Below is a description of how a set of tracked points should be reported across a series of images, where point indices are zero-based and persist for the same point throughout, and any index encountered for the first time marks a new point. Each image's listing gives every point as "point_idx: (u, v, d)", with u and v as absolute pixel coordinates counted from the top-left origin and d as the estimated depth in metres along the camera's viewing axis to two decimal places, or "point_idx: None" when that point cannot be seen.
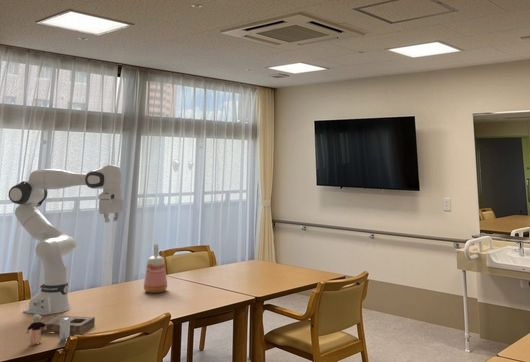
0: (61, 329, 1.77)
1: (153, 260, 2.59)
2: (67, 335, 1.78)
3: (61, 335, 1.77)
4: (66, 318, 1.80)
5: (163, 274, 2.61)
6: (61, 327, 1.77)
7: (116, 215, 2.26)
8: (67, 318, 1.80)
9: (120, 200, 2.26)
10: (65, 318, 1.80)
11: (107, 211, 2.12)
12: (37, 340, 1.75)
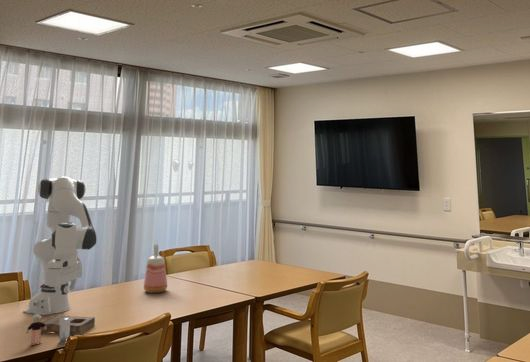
0: (61, 329, 1.77)
1: (153, 260, 2.59)
2: (67, 335, 1.78)
3: (61, 335, 1.77)
4: (66, 318, 1.80)
5: (163, 274, 2.61)
6: (61, 327, 1.77)
7: (72, 283, 1.85)
8: (67, 318, 1.80)
9: (77, 264, 1.85)
10: (65, 318, 1.80)
11: (58, 283, 1.71)
12: (37, 340, 1.75)
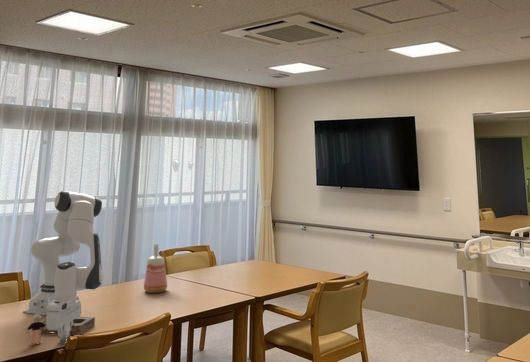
0: None
1: (153, 260, 2.59)
2: (67, 335, 1.78)
3: None
4: None
5: (163, 274, 2.61)
6: None
7: None
8: None
9: (77, 304, 1.85)
10: None
11: (57, 326, 1.71)
12: (37, 340, 1.75)
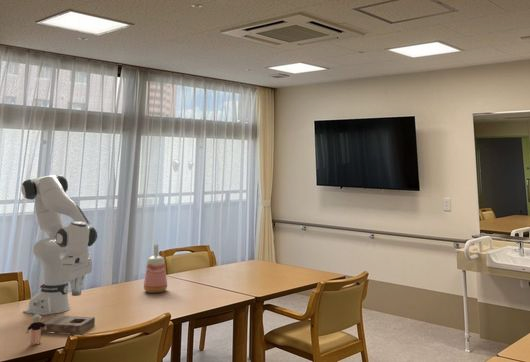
0: None
1: (153, 260, 2.59)
2: (79, 288, 1.92)
3: None
4: None
5: (163, 274, 2.61)
6: None
7: None
8: None
9: (88, 261, 1.99)
10: None
11: (70, 278, 1.85)
12: (37, 340, 1.75)
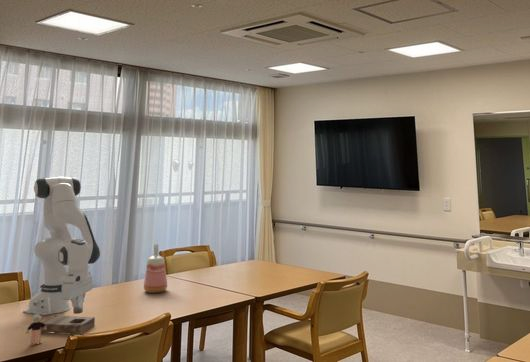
0: None
1: (153, 260, 2.59)
2: (80, 306, 1.93)
3: None
4: None
5: (163, 274, 2.61)
6: None
7: None
8: None
9: (88, 278, 2.00)
10: None
11: (71, 296, 1.86)
12: (37, 340, 1.75)
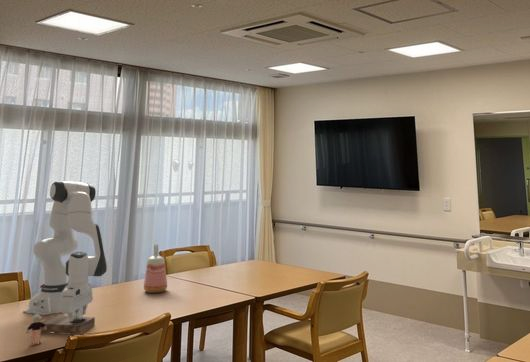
0: (75, 315, 1.93)
1: (153, 260, 2.59)
2: (80, 321, 1.93)
3: (75, 321, 1.93)
4: None
5: (163, 274, 2.61)
6: (75, 313, 1.93)
7: (84, 308, 2.00)
8: None
9: (88, 290, 2.00)
10: None
11: (71, 310, 1.86)
12: (37, 340, 1.75)
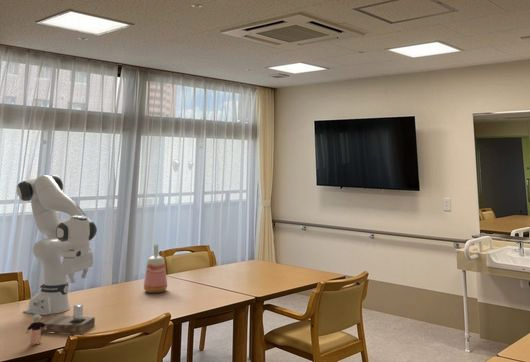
0: (75, 315, 1.93)
1: (153, 260, 2.59)
2: (80, 321, 1.93)
3: (75, 321, 1.93)
4: (79, 305, 1.95)
5: (163, 274, 2.61)
6: (75, 313, 1.93)
7: (84, 271, 2.00)
8: (80, 305, 1.95)
9: (89, 254, 2.01)
10: (78, 305, 1.95)
11: (72, 271, 1.86)
12: (37, 340, 1.75)
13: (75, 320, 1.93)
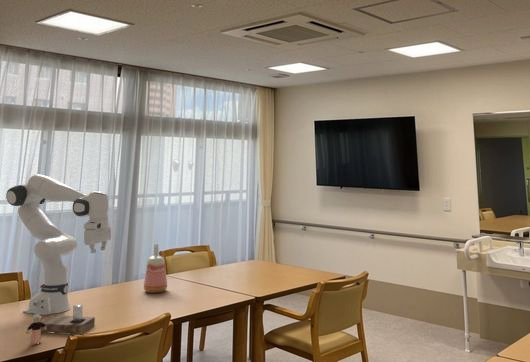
0: (74, 315, 1.93)
1: (153, 260, 2.59)
2: (80, 321, 1.93)
3: (74, 321, 1.93)
4: (79, 305, 1.95)
5: (163, 274, 2.61)
6: (74, 313, 1.93)
7: (103, 244, 2.14)
8: (80, 305, 1.95)
9: (108, 228, 2.14)
10: (78, 305, 1.95)
11: (93, 242, 2.00)
12: (37, 340, 1.75)
13: (75, 320, 1.93)
